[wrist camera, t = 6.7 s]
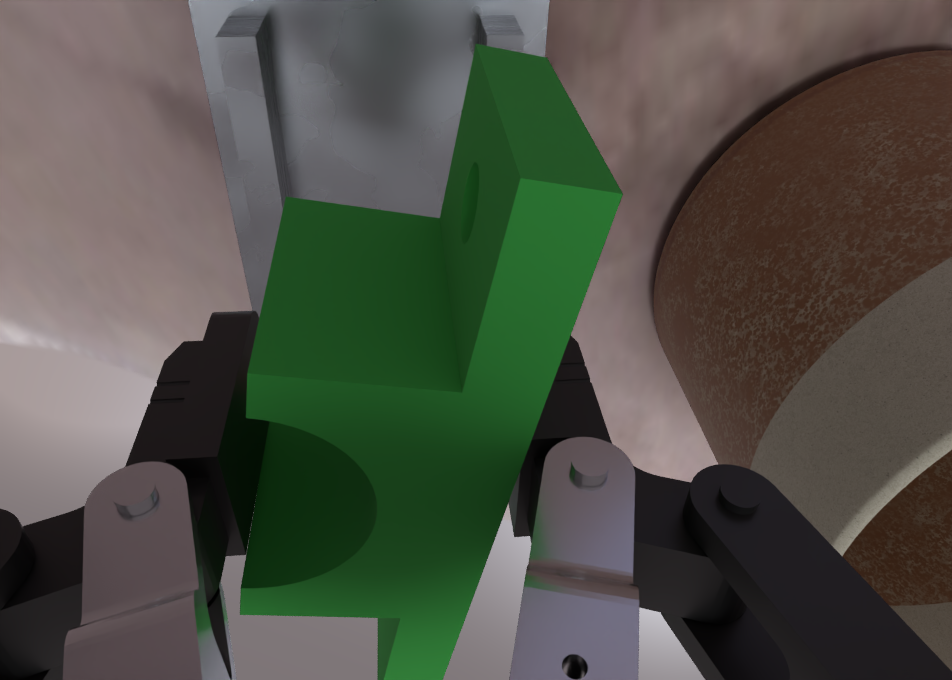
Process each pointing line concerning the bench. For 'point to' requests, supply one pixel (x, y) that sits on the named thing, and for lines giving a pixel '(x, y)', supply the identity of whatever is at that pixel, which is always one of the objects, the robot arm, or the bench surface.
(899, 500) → the planter
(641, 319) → the bench surface
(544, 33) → the steel channel
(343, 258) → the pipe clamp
